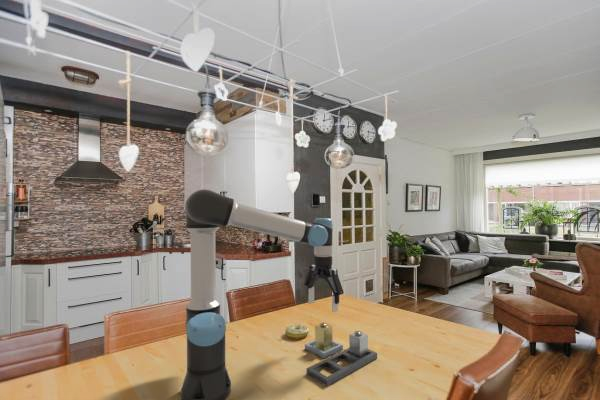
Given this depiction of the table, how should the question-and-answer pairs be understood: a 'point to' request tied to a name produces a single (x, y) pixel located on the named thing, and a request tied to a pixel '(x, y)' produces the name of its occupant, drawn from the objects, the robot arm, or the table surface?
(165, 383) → the table surface
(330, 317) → the table surface
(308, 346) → the parts tray
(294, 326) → the decorated donut
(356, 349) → the grey knobbed block
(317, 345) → the gold block with knob
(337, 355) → the rail
